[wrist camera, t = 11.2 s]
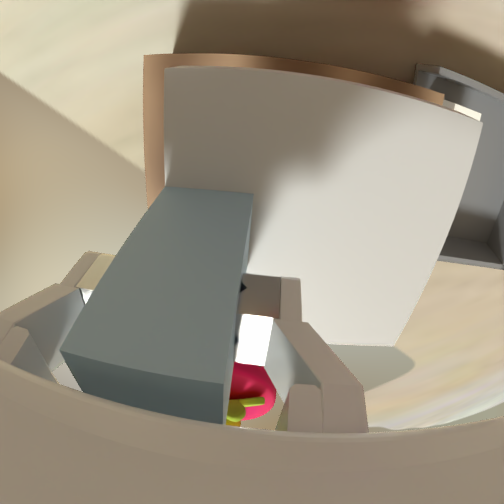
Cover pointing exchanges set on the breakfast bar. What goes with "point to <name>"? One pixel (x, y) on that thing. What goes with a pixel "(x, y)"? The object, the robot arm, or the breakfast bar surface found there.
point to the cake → (249, 393)
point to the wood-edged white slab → (159, 62)
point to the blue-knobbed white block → (271, 228)
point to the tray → (475, 172)
